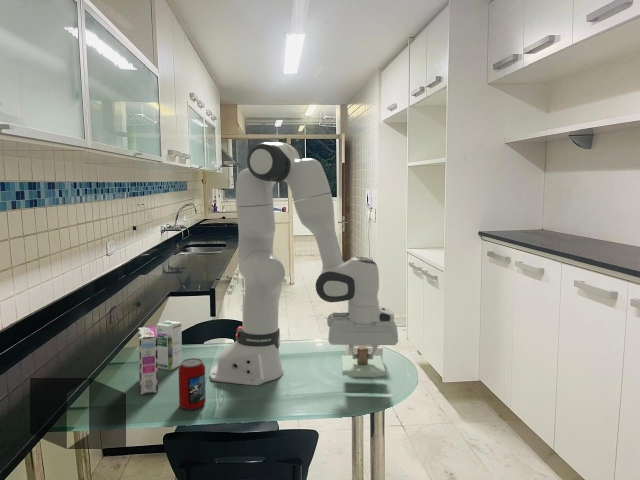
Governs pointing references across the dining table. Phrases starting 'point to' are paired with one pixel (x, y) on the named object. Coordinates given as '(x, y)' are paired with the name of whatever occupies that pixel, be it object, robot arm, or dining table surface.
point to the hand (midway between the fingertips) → (362, 358)
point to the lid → (362, 365)
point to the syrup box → (169, 344)
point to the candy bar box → (148, 360)
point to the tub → (377, 353)
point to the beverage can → (191, 383)
